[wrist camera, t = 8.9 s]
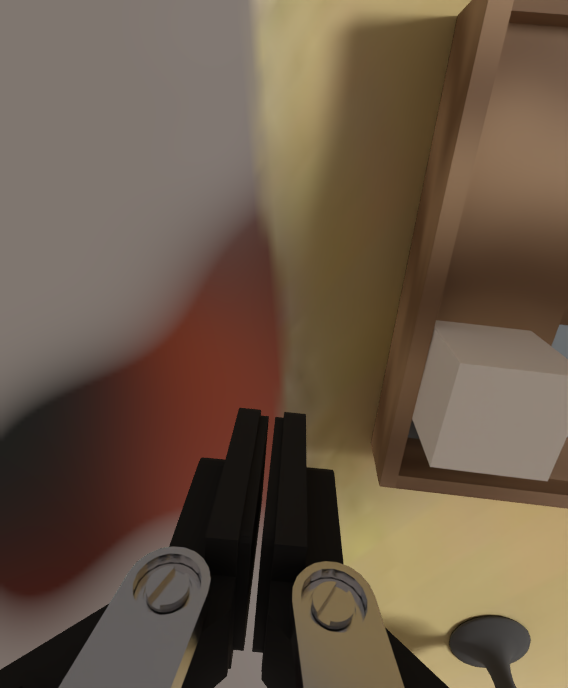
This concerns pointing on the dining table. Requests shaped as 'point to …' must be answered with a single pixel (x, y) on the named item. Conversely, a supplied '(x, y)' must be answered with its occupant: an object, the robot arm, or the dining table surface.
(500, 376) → the block
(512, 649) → the sundae
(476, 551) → the dining table surface
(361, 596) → the robot arm
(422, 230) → the tray
